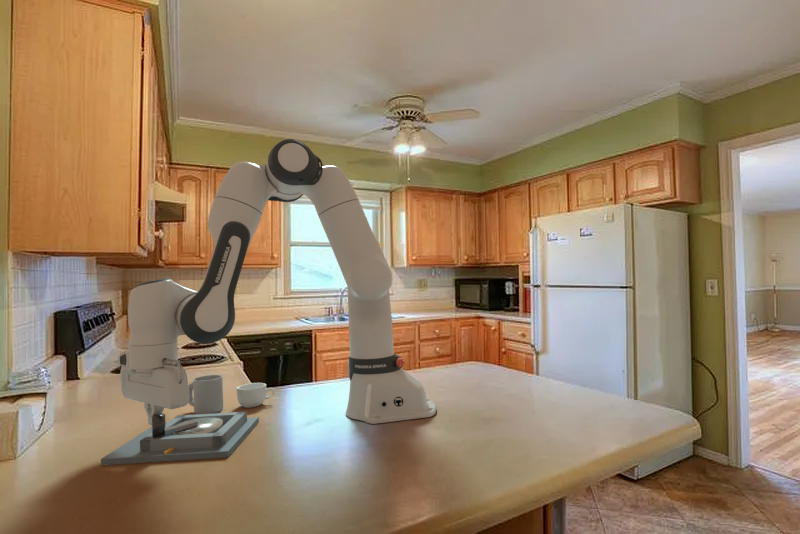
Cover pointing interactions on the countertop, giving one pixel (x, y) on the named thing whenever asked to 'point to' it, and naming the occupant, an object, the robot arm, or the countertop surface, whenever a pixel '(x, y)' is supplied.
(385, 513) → the countertop surface
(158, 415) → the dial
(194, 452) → the panel
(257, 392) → the teacup
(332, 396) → the countertop surface
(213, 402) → the cup
